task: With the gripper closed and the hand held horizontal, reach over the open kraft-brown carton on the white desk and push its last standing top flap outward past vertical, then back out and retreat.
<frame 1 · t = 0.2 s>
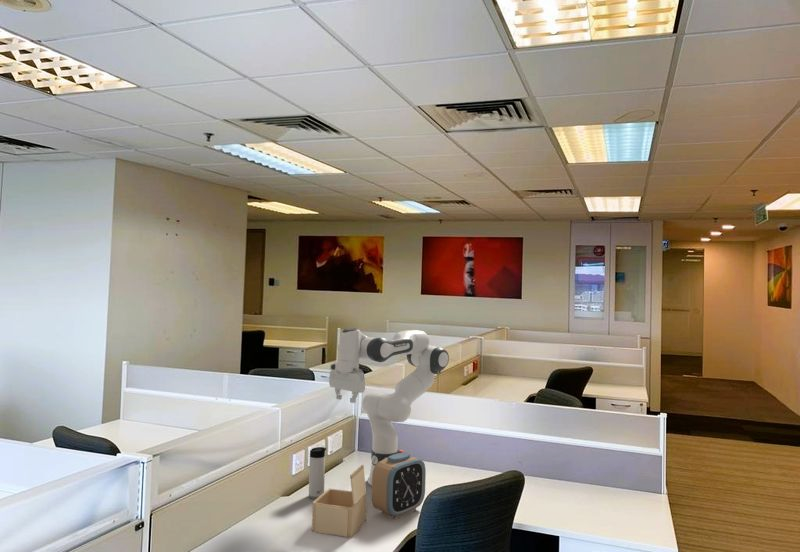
hand: (345, 400, 234), 39 cm above the table, tool pointing down, fingers open, 8 cm apart
alarm clock: (398, 512, 219), on the table
flap: (358, 484, 204), point 16 cm above the table, hinge at -8.0°
carton: (339, 525, 206), on the table
travel mug: (316, 497, 233), on the table
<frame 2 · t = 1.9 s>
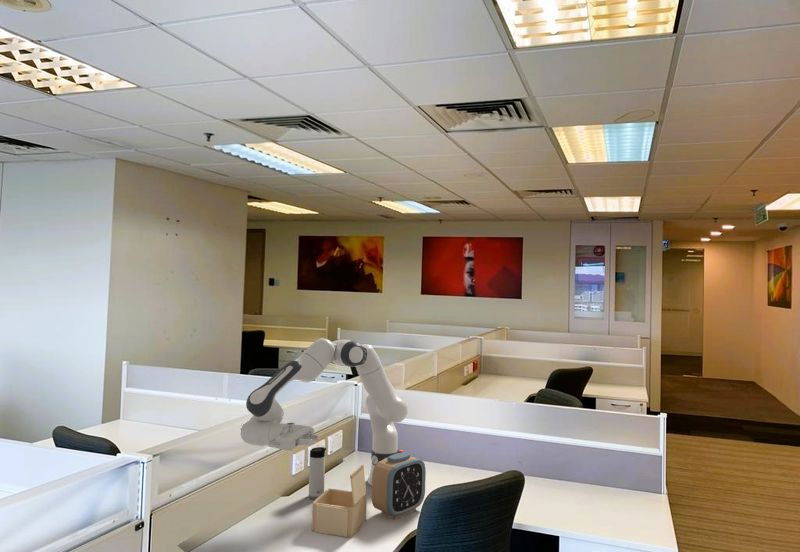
hand: (314, 439, 209), 30 cm above the table, tool horizontal, fingers open, 4 cm apart
nothing on the table moved.
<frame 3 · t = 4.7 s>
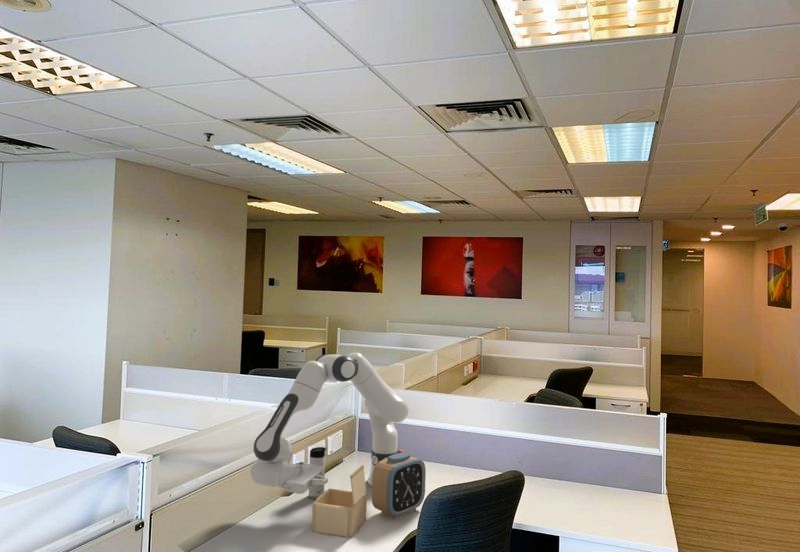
hand: (326, 481, 207), 15 cm above the table, tool horizontal, fingers closed
nothing on the table moved.
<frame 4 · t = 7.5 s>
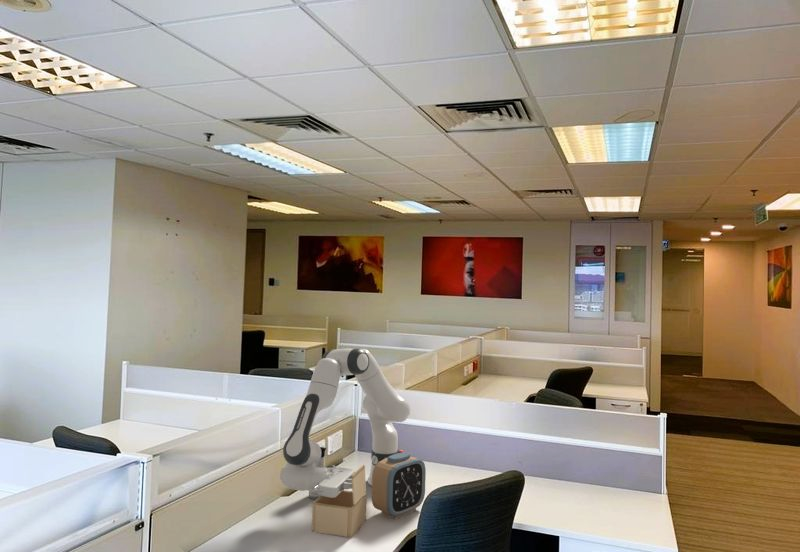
hand: (358, 485, 204), 15 cm above the table, tool horizontal, fingers closed, pressing on flap
flap: (359, 484, 204), point 16 cm above the table, hinge at -5.3°, touching gripper
everything else where it was.
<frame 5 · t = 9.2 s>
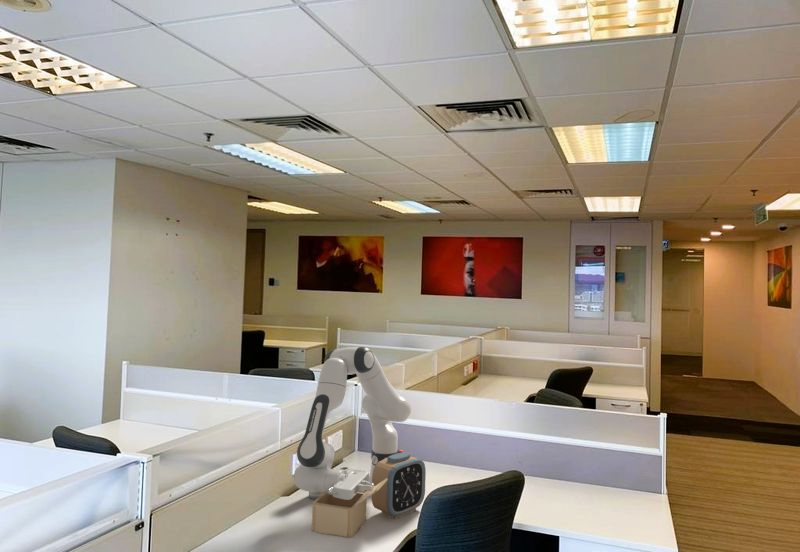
hand: (372, 487, 202), 15 cm above the table, tool horizontal, fingers closed, pressing on flap
flap: (371, 491, 202), point 14 cm above the table, hinge at 52.7°, touching gripper
everything else where it was.
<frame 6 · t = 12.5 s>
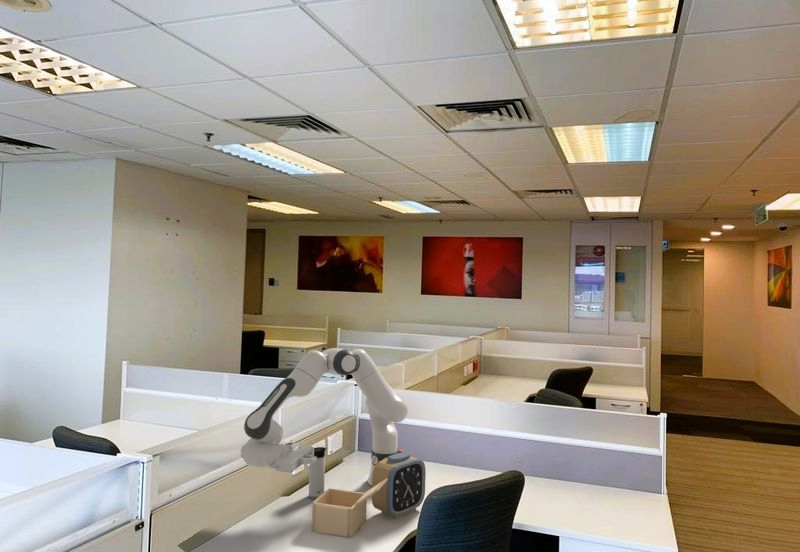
hand: (315, 460, 209), 22 cm above the table, tool horizontal, fingers closed
flap: (371, 491, 202), point 14 cm above the table, hinge at 52.8°
everything else where it was.
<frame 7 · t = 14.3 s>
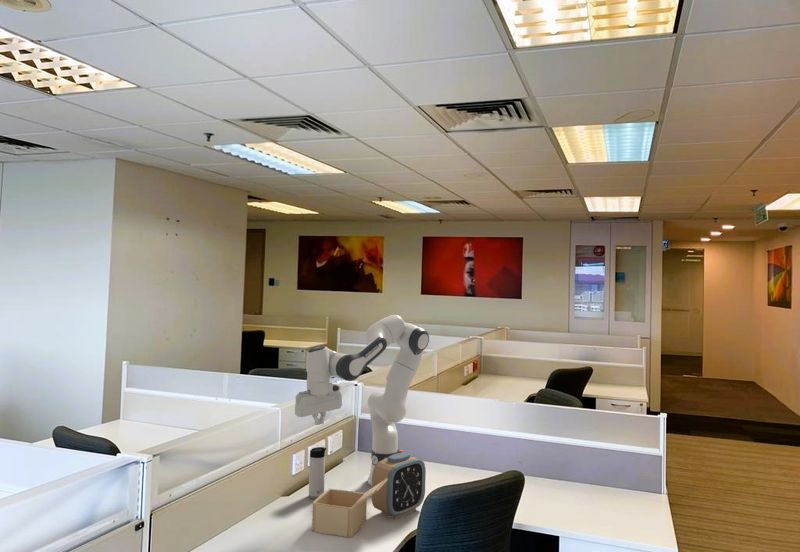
hand: (319, 424, 219), 33 cm above the table, tool pointing down, fingers closed
nothing on the table moved.
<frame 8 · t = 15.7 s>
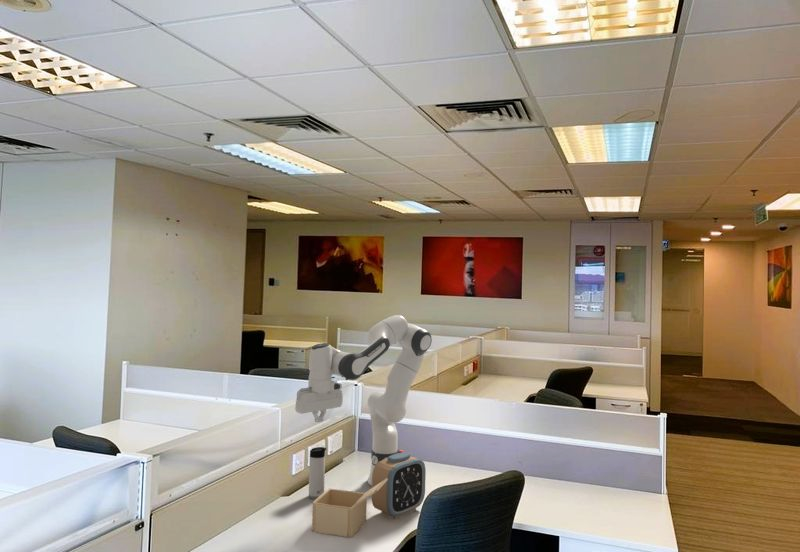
hand: (319, 421, 219), 34 cm above the table, tool pointing down, fingers closed
nothing on the table moved.
at the end: flap at +53° (first picture: -8°) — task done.
